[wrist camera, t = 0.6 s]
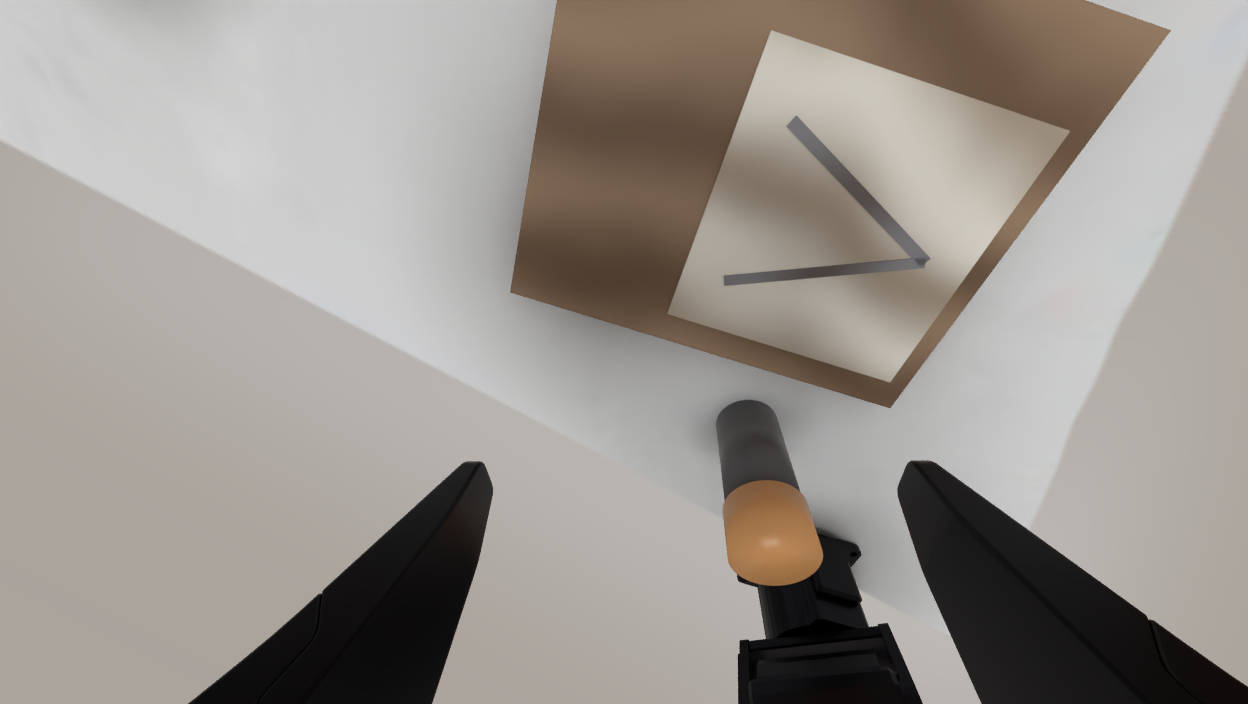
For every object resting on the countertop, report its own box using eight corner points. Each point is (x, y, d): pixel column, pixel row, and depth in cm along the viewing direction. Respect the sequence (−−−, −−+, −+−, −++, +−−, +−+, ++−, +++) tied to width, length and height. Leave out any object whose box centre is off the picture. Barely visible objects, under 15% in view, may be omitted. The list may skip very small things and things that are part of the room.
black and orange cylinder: (763, 456, 28) (796, 594, 20) (704, 439, 27) (713, 571, 20) (791, 409, 26) (840, 541, 18) (728, 390, 26) (750, 514, 18)
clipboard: (881, 395, 25) (892, 410, 23) (517, 284, 24) (508, 294, 22) (1138, 35, 16) (1178, 29, 15) (591, -156, 15) (583, -180, 14)
